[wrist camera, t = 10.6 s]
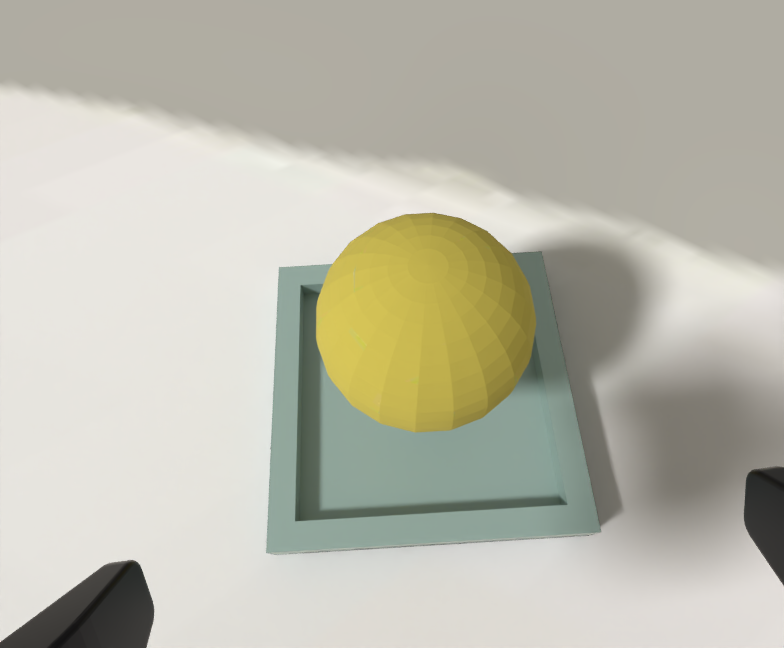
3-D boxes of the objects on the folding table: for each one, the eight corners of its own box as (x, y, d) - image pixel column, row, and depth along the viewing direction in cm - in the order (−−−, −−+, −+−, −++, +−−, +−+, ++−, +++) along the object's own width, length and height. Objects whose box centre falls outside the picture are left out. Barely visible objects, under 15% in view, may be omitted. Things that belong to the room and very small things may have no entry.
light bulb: (313, 366, 23) (253, 228, 14) (443, 296, 24) (465, 130, 15) (390, 506, 21) (378, 446, 12) (532, 419, 22) (619, 305, 13)
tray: (588, 535, 20) (601, 532, 19) (275, 554, 20) (266, 552, 19) (534, 268, 26) (541, 251, 24) (285, 283, 26) (279, 267, 24)
